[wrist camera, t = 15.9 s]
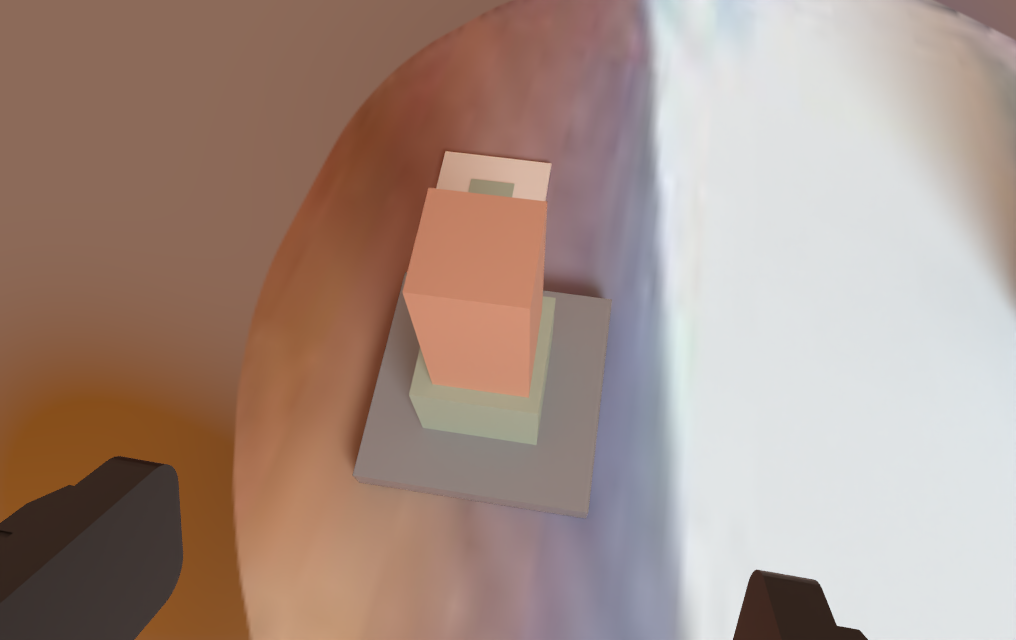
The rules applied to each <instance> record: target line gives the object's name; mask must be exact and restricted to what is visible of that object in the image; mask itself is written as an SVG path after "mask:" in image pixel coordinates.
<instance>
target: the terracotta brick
mask: <svg viewBox="0 0 1016 640" xmlns="http://www.w3.org/2000/svg"><path fill="white" fill-rule="evenodd" d="M546 219H547V201H538V200H530V199H521V198H513V197H504V196H496V195H487V194H478V193H470V192H461V191H453V190H444V189H436V188H428V192H427V196H426V200H425V204H424V208H423V212H422V216H421V220H420V224H419V228H418V232H417V236H416V240H415V244H414V248H413V252H412V256H411V260H410V264H409V268H408V272H407V276H406V280H405V284H404V288H403V296H404V299H405V302H406V305H407V308H408V311H409V314H410V317H411V320H412V323H413V326H414V329H415V332H416V335H417V338H418V342H419V345H420V348H421V351H422V354H423V357H424V360H425V363H426V366H427V369H428V372H429V375H430V378H431V381H432V384H435V385H442V386H449V387H456V388H463V389H470V390H477V391H484V392H492V393H499V394H506V395H513V396H520V397H527V398H529V393H530V386H531V380H532V373H533V367H534V360H535V353H536V347H537V340H538V334H539V327H540V320H541V314H542V300H543V280H544V260H545V239H546Z"/></svg>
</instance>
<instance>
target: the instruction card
mask: <svg viewBox="0 0 1016 640" xmlns="http://www.w3.org/2000/svg"><path fill="white" fill-rule="evenodd" d="M550 171H551V163H543V162H534V161H526V160H517V159H509V158H500V157H492V156H483V155H474V154H466V153H457V152H449V151H445V155H444V159H443V163H442V167H441V171H440V175H439V179H438V183H437V187H436V189H444V190H453V191H461V192H470V193H478V194H487V195H496V196H504V197H513V198H521V199H530V200H538V201H546V195H547V189H548V183H549V177H550Z"/></svg>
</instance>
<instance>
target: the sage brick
mask: <svg viewBox="0 0 1016 640" xmlns="http://www.w3.org/2000/svg"><path fill="white" fill-rule="evenodd" d="M555 300H556V298H552V297H545V296H543V300H542V314H541V320H540V327H539V334H538V340H537V347H536V353H535V360H534V367H533V373H532V380H531V386H530V393H529V398H527V397H520V396H513V395H506V394H499V393H492V392H484V391H477V390H470V389H463V388H456V387H449V386H442V385H435V384H432V381H431V378H430V375H429V372H428V369H427V366H426V363H425V360H424V357H423V354H422V351H421V348H420V350H419V354H418V358H417V363H416V367H415V371H414V375H413V380H412V384H411V388H410V392H409V396H410V399H411V401H412V404H413V406H414V408H415V411H416V413H417V415H418V418H419V420H420V422H421V425H422V427H423V428H428V429H434V430H441V431H447V432H454V433H460V434H467V435H473V436H480V437H487V438H493V439H500V440H506V441H513V442H519V443H526V444H533V445H537V439H538V432H539V425H540V418H541V412H542V405H543V398H544V391H545V385H546V378H547V371H548V365H549V358H550V351H551V344H552V336H553V324H554V312H555Z"/></svg>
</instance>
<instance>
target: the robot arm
mask: <svg viewBox="0 0 1016 640" xmlns="http://www.w3.org/2000/svg"><path fill="white" fill-rule="evenodd" d="M182 561H183V546H182V531H181V515H180V501H179V485H178V476H177V473H176V471H175V469H174V468H173V467H172V466H170V465H167V464H161V463H155V462H149V461H144V460H138V459H132V458H127V457H121V456H118V457H114V458H111V459H109V460H108V461H106V462H105V463H104V464H102V465H101V466H100V467H99V468H97V469H96V470H94V471H93V472H92V473H91V474H89V475H88V476H87V477H85V478H84V479H83V480H81V481H80V482H79V483H78V484H76V485H75V486H71V485H68V486H66V487H64V488H61V489H59V490H57V491H55V492H52V493H50V494H48V495H45V496H43V497H41V498H39V499H37V500H34V501H32V502H29V503H27V504H26V505H24V506H23V507H22V508H20V509H19V510H17V511H16V512H15V513H13V514H12V515H11V516H9V517H8V518H7V519H5V520H4V521H2V522H1V523H0V640H134V639H135V638H136V637H137V636H138V635H139V633H140V632H141V631H142V630H143V629H144V627H145V626H146V625H147V624H148V623H149V622H150V620H151V619H152V618H153V617H154V616H155V614H156V613H157V612H158V611H159V610H160V609H161V607H162V606H163V605H164V604H165V603H166V601H167V600H168V599H169V597H170V595H171V594H172V592H173V590H174V588H175V586H176V584H177V581H178V578H179V575H180V572H181V568H182ZM733 640H868V639H867V638H866V637H865V636H864V635H863V634H862V632H861V631H860V630H857V629H851V628H846V627H840V626H837V625H836V623H835V620H834V618H833V615H832V613H831V610H830V608H829V605H828V603H827V600H826V598H825V595H824V593H823V590H822V588H821V586H820V584H819V583H818V582H817V581H816V580H813V579H807V578H801V577H796V576H790V575H784V574H779V573H773V572H767V571H761V570H755V571H754V572H753V573H752V575H751V577H750V579H749V582H748V586H747V590H746V593H745V597H744V601H743V604H742V608H741V612H740V615H739V619H738V623H737V627H736V630H735V634H734V638H733Z"/></svg>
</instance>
